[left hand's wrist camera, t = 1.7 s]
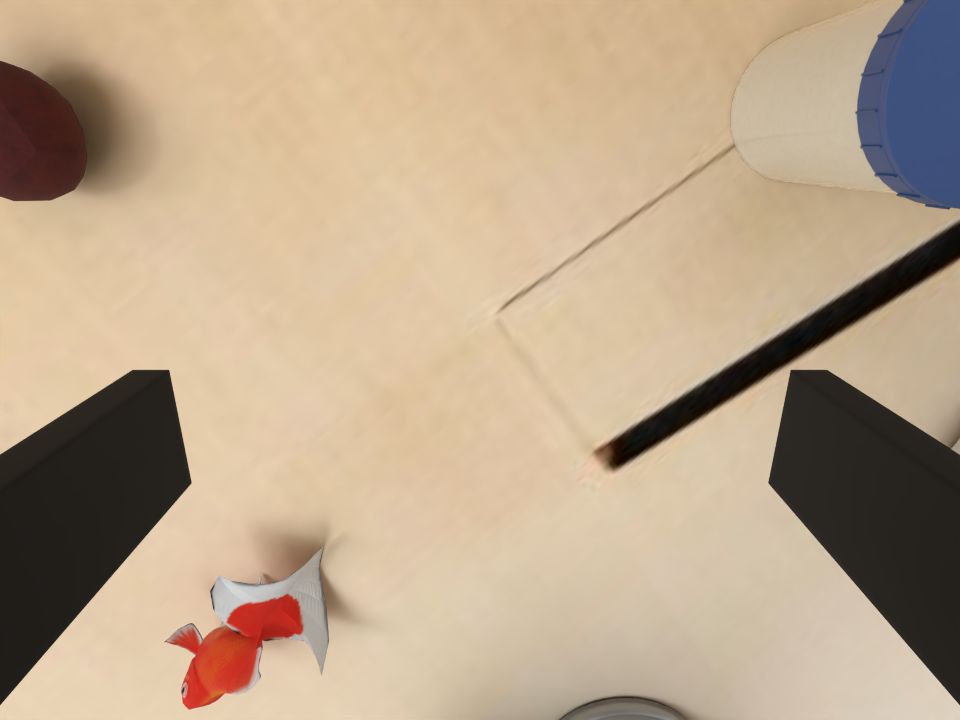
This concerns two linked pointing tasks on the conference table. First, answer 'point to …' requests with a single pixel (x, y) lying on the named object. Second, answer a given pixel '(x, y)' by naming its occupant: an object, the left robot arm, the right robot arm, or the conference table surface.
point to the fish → (252, 631)
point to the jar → (810, 102)
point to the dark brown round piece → (37, 139)
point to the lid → (915, 103)
